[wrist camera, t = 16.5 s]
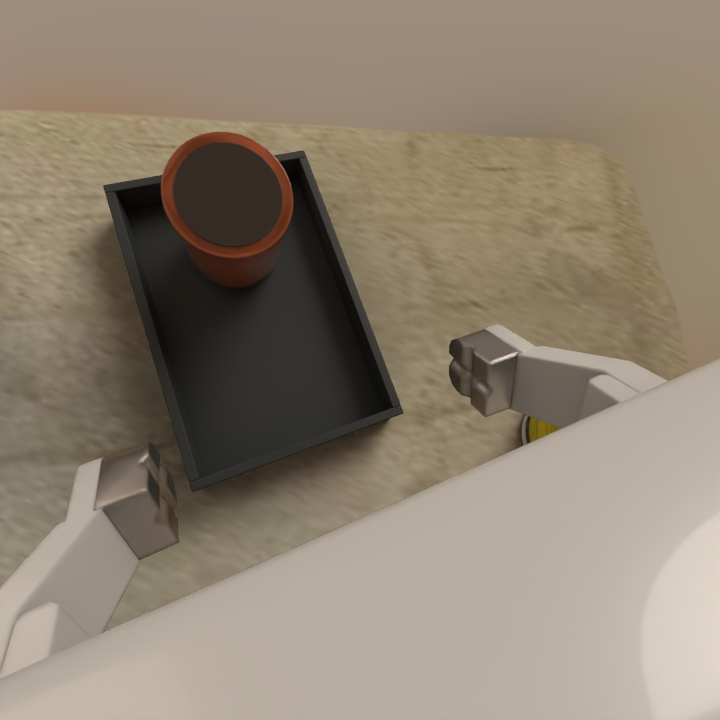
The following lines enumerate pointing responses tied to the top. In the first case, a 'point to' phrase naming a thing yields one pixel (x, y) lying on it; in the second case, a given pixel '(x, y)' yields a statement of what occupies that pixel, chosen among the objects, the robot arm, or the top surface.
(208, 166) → the plant pot
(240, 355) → the plant tray
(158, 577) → the top surface
